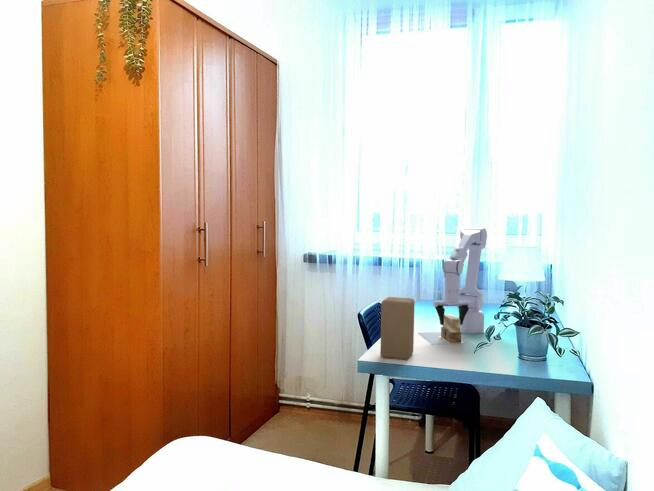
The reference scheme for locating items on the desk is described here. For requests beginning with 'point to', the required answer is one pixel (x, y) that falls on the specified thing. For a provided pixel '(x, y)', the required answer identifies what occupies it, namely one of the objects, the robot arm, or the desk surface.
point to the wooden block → (397, 328)
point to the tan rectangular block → (451, 323)
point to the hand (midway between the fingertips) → (451, 324)
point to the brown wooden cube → (443, 332)
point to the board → (439, 338)
